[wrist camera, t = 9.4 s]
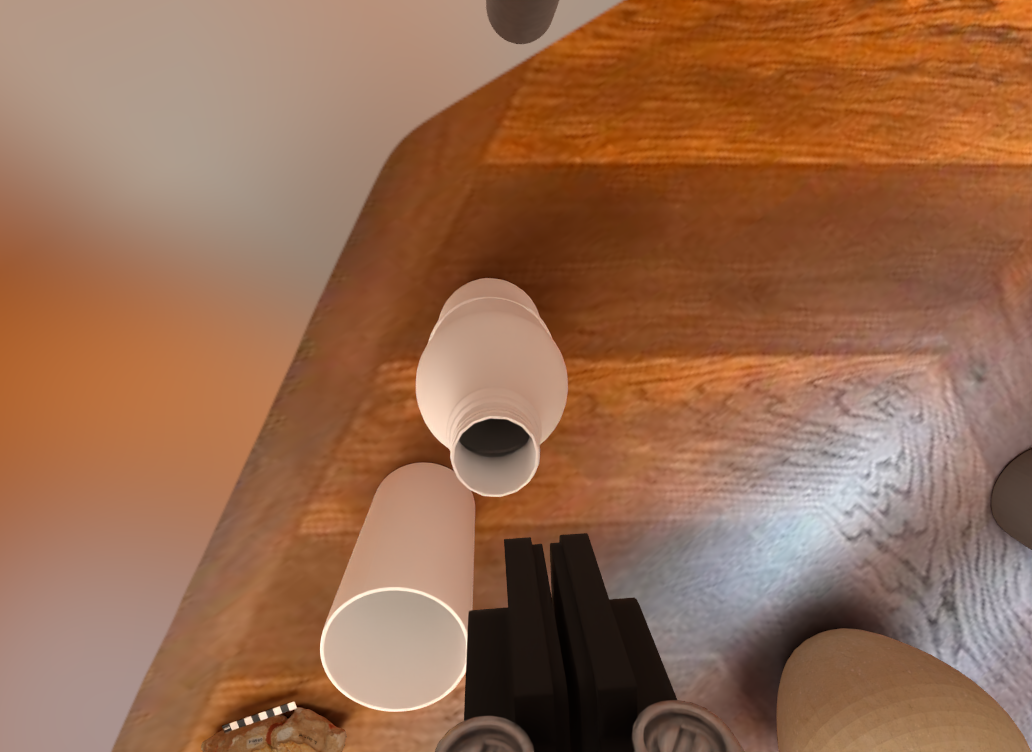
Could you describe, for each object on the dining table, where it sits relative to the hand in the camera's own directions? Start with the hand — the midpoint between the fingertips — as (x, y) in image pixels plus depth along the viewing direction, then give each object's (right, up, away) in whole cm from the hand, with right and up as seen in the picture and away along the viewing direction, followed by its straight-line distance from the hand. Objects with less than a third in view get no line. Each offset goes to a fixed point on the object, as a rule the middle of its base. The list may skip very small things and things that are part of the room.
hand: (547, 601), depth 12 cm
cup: (-8, -6, +36) cm, 37 cm away
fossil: (-22, -27, +41) cm, 54 cm away
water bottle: (-3, +8, +32) cm, 33 cm away
